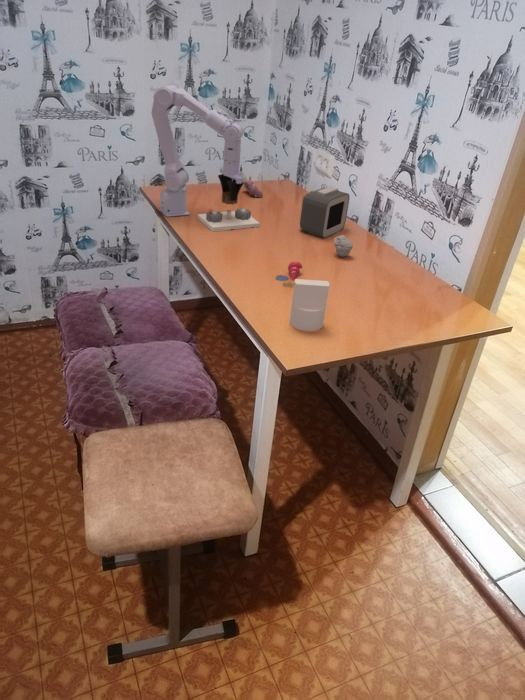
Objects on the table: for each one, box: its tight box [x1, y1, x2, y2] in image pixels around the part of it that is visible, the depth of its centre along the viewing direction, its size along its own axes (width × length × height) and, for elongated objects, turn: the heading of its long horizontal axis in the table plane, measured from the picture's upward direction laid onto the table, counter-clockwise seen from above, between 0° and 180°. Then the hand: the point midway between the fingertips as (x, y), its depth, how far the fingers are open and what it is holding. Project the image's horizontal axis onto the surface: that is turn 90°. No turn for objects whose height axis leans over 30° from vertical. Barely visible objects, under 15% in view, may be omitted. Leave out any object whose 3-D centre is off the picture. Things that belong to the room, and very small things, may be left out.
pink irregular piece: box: [242, 179, 264, 198], centre depth 241 cm, size 10×5×7 cm, turn 26°
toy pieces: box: [275, 261, 303, 289], centre depth 174 cm, size 12×11×4 cm
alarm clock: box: [299, 185, 350, 239], centre depth 210 cm, size 16×11×16 cm
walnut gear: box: [221, 191, 239, 205], centre depth 208 cm, size 6×6×3 cm
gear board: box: [197, 207, 261, 233], centre depth 210 cm, size 19×14×6 cm
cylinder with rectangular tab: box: [289, 278, 330, 332], centre depth 150 cm, size 9×9×12 cm
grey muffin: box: [333, 234, 354, 258], centre depth 193 cm, size 6×7×7 cm
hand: (229, 197), depth 208 cm, fingers closed on walnut gear, 6 cm apart
